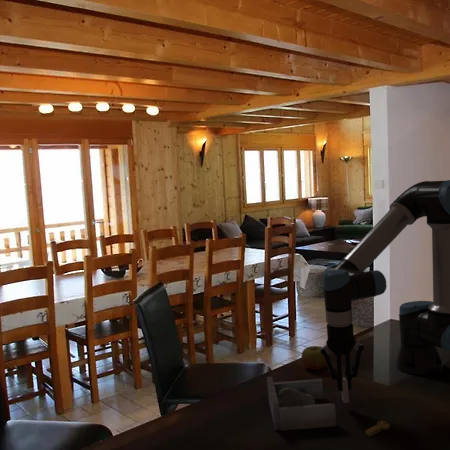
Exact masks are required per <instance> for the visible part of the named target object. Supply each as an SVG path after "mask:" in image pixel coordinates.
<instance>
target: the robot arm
mask: <svg viewBox="0 0 450 450" xmlns="http://www.w3.org/2000/svg"><path fill="white" fill-rule="evenodd" d="M423 217H426V225H428V226H429V227H430V228H431V238H432V239H431V241H432V243H431V244H432V245H431V246H432V247H431V248H432V250H431V252H432V253H431V255H432V257H431V258H432V296H433V297H432V299H433V301H431V300H415V301H414V300H413V301H408V302H404V303H402V304H401V305H400V306H399V309H398V310H399V313H398V319H399V321H398V322H399V334H400V346H399V350H398V353H397V357H396V360H395V361H396V368H397V369H398V371H401V372H403V373H405V374H409V375H415V376H431V375H437V374H439V373H441V372H442V371H443V369H444V365H443V362H444V361H443V359H442V357H441V354H440V352H439V349H438V348H440V349H442V350H444V351H446V352H447V351H448V352H450V179H447V180H424V181H419V182H416V183H415V184H413V185H411V186H410V187H409V188H407V189H406V190H404V191H403V192H402V193H401V194H400V195H398V197H396V199H395V200H393V201H392V203H391V204H390V205H389V210H388V211H387V212H386V213H385V215H383V217H381V219H380V220H378V222H377V223H375V225H374V226H373V227H372V228H371V229H370V230H369V231H368V233H367V234H365V235H364V236H363V237H362V239H360V240H359V242H358V243H357V244H356V245H355V246H353V248H352V249H351V250H350V251H349V252H348V253H347V254H346V256H344V257H343V259H342V260H340V262H339V263H338V264H332V265H329V266H327V267H326V268H325V270H324V271H323V275H322V276H323V277H322V281H323V282H322V289H323V297H324V306H325V322H326V336H327V339H326V342H325V343H326V344H324V346H319V347H320V348H319V350H320V351H321V353H322V354H323V355H324V358H325V361H326V364H327V366H326V368H327V370H328V373H329V375H330V377H331V379H332V380H333V381H336V384H337V389H338V391H339V392H341V400H342V402H343V403H344V404H347V403H350V398H349V397H350V396H349V391H352V380H353V379H354V378H357V377H358V372H359V366H360V360H361V356H362V355H361V354H362V353H363V351H364V348H365V346H364V345H363V344H362V343H360V342H357V341H356V339H355V337H354V336H355V335H354V334H355V333H354V325H353V310H352V309H353V308H352V307H353V306H352V302H353V301H357V300H358V301H359V300H363V299H369V298H375V297H377V296H381V295H383V294H384V293H385V292H386V289H387V287H388V286H387V279H386V277H385V275H384V274H383V273H382V271H381V270H375V269H374V270H369V271H366V270H367V269H368V268H369V267H370V266H371V265H372V264H373V263H374V261H375V260H376V259H377V258H378V257H379V256H380V255H381V254H382V253H383V252H384V250H386V248H388V246H389V245H390V244H391V243H392V242H393V241H394V240H395V239H396V238H397V237H398V236H399V235H400V234H401V233H402V232H403V230H404V229H405V228H406V227H407V226H409V225H410V226H411V225H413V224H414V223H415V222H416V221H417V220H418V219H420V218H423ZM353 349H354V351H353V352H354V353H353V359H352V363H351V360H350V357H351V356H350V353H351V352H352V350H353ZM329 351H331V353H333V355H334V360H335V361H334V362H335V371H334V367H333V364H332V362H331V361H332V360H331V359H330V355H329V356H328V354H329ZM327 353H328V354H327ZM342 356H343V365H344V366H343V367H344V368H343V369H344V376H345V377H343V369H342Z"/></svg>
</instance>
